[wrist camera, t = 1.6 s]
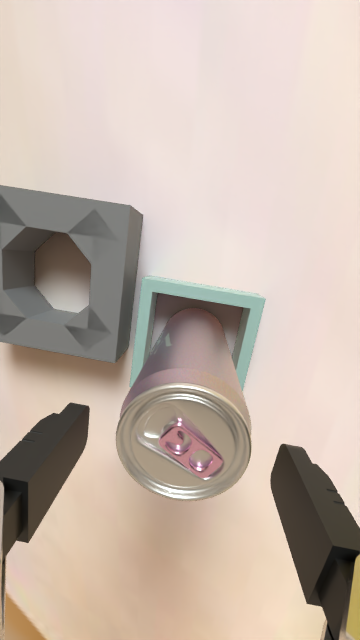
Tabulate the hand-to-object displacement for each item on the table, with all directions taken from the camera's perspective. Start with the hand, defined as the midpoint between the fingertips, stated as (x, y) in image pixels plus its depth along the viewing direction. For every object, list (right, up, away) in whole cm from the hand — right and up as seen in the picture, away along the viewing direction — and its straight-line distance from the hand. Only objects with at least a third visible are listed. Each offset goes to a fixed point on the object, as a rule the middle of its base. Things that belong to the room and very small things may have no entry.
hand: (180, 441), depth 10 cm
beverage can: (+1, +3, +15) cm, 15 cm away
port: (-11, +10, +14) cm, 20 cm away
